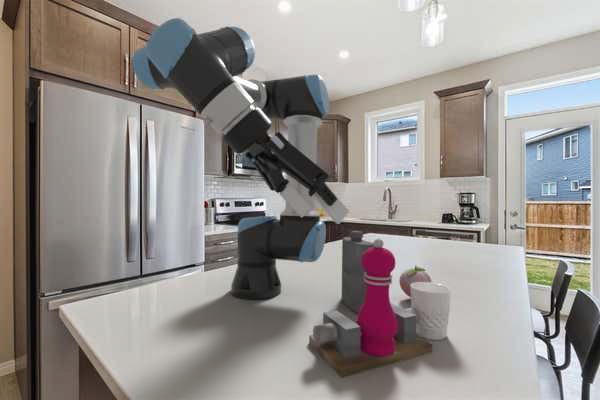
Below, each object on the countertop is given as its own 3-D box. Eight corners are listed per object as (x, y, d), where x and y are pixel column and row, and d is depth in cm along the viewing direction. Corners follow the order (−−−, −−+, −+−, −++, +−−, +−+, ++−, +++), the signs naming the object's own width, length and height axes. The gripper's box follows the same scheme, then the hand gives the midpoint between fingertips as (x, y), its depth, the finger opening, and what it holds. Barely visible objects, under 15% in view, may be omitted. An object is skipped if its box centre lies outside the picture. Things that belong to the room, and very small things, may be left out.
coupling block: (302, 344, 57) (302, 311, 57) (393, 325, 67) (394, 296, 67) (333, 379, 46) (334, 338, 46) (437, 350, 56) (438, 316, 56)
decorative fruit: (405, 292, 90) (406, 260, 90) (433, 298, 85) (434, 264, 85) (394, 300, 83) (394, 265, 83) (424, 308, 78) (424, 270, 78)
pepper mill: (392, 339, 57) (394, 236, 56) (401, 360, 49) (403, 242, 49) (355, 336, 57) (356, 235, 57) (358, 356, 50) (360, 241, 50)
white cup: (447, 345, 58) (448, 295, 57) (406, 335, 62) (407, 288, 62) (451, 330, 64) (452, 285, 64) (413, 322, 68) (414, 279, 68)
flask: (336, 296, 86) (337, 228, 86) (355, 295, 87) (356, 228, 87) (357, 316, 71) (358, 235, 71) (379, 314, 72) (380, 234, 72)
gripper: (210, 148, 56) (283, 223, 62) (238, 116, 33) (348, 240, 39) (238, 123, 58) (305, 198, 64) (282, 77, 35) (380, 201, 42)
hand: (322, 214), depth 52 cm, fingers open, 13 cm apart
